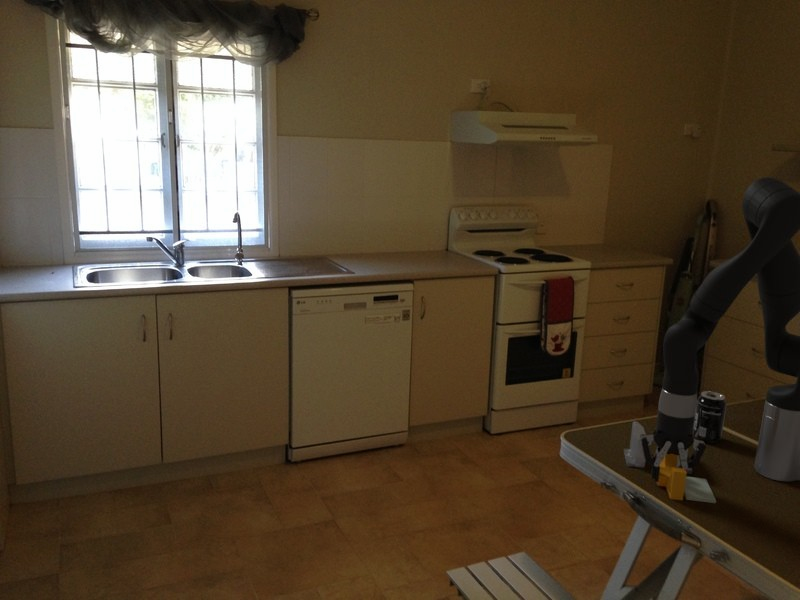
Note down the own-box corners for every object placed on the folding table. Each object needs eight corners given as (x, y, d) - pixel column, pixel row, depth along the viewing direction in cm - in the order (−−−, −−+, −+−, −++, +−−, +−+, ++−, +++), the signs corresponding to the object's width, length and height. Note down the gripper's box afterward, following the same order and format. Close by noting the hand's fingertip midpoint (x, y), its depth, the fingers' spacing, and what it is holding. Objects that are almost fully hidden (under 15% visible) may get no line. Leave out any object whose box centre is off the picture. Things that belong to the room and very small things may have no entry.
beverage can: (701, 431, 190) (707, 388, 187) (725, 440, 185) (732, 396, 182) (686, 437, 186) (693, 393, 183) (711, 446, 181) (718, 402, 178)
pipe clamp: (652, 472, 166) (656, 446, 164) (672, 474, 165) (676, 448, 163) (661, 497, 154) (665, 470, 153) (682, 500, 153) (686, 472, 152)
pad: (705, 481, 162) (705, 478, 162) (715, 503, 153) (716, 500, 153) (677, 477, 163) (677, 475, 163) (686, 499, 154) (686, 496, 154)
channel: (682, 453, 176) (686, 426, 175) (691, 473, 166) (696, 445, 164) (622, 446, 179) (625, 420, 177) (627, 466, 168) (630, 438, 166)
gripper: (645, 412, 154) (636, 485, 157) (715, 419, 151) (705, 493, 155) (640, 400, 161) (632, 470, 165) (707, 406, 158) (697, 477, 162)
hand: (667, 481), depth 160 cm, fingers closed on pipe clamp, 4 cm apart
